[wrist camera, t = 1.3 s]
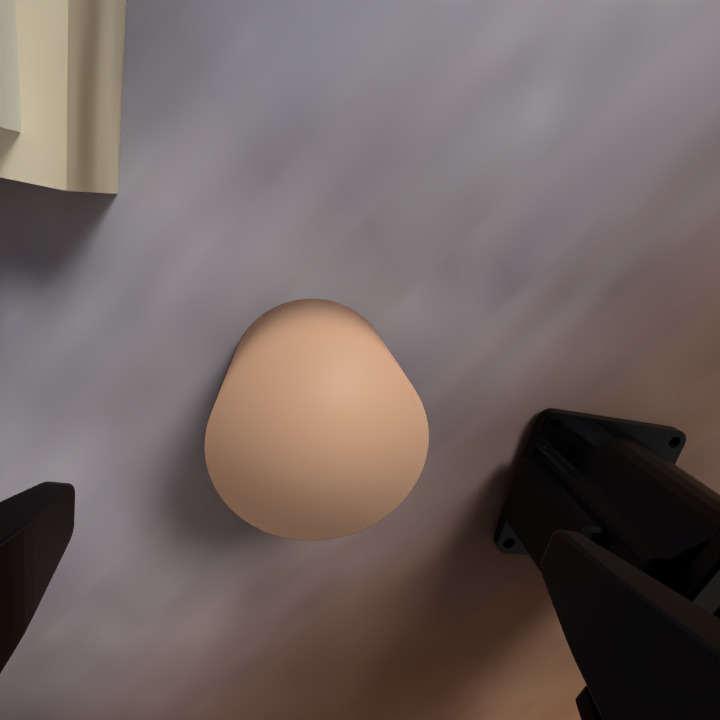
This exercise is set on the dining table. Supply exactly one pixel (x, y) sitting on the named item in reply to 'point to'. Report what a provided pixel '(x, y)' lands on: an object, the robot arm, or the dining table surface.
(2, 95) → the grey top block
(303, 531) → the tan rounded block
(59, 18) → the birch base block
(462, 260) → the dining table surface
